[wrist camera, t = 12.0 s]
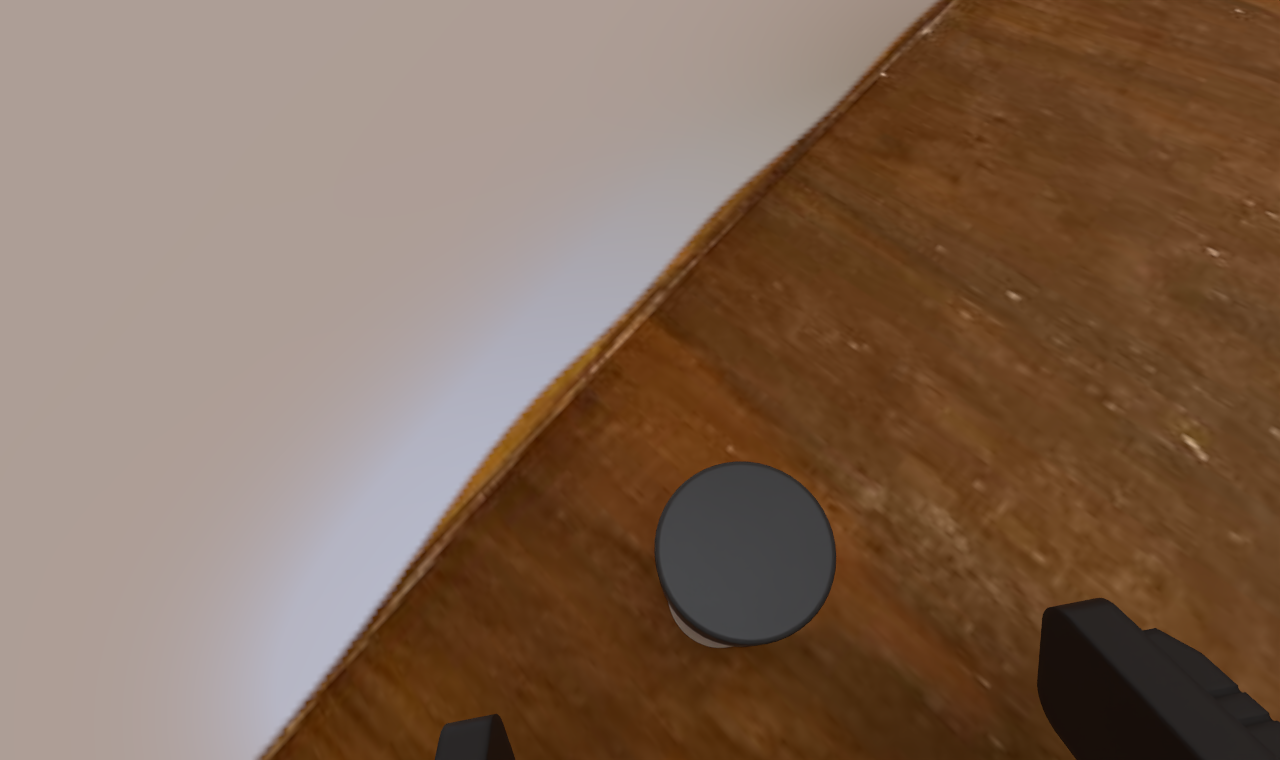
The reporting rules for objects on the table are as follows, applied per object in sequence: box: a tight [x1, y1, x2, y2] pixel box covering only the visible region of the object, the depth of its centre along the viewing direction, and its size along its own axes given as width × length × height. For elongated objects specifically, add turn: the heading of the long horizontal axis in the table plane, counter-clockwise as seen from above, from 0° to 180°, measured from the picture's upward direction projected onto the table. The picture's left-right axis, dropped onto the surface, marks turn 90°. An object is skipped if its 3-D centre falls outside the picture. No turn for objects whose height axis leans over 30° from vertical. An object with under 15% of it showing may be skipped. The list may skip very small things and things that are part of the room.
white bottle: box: [655, 462, 836, 648], centre depth 14 cm, size 3×3×8 cm
